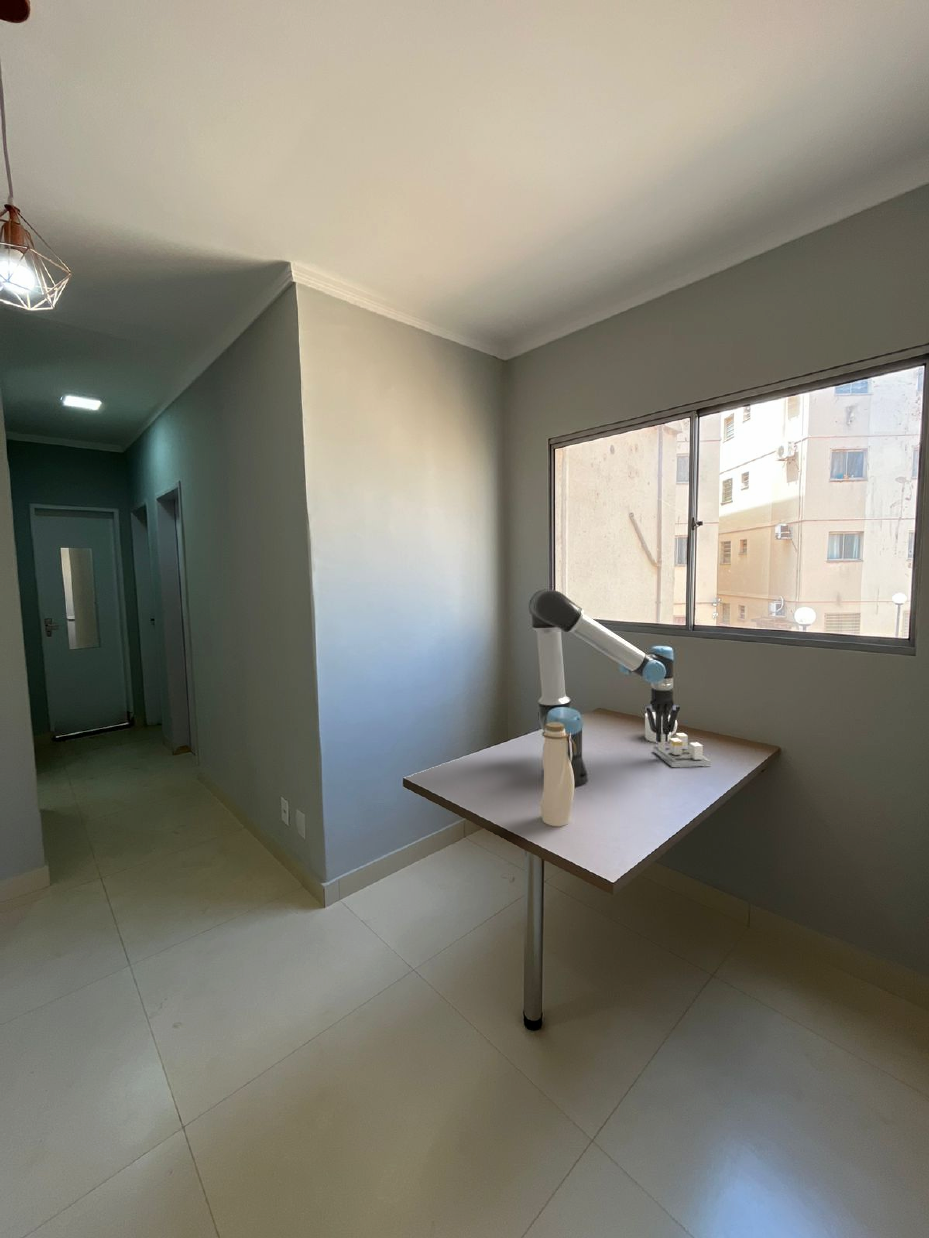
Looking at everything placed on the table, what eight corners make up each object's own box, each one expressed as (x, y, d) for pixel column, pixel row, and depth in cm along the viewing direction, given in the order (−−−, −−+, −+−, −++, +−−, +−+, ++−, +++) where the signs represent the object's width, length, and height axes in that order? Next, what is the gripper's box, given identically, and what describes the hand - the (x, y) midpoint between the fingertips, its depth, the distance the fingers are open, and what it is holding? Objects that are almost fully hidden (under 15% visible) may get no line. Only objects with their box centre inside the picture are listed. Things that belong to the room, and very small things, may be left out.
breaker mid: (674, 754, 184) (674, 741, 184) (669, 751, 188) (669, 738, 188) (682, 754, 185) (682, 741, 184) (677, 750, 188) (677, 737, 188)
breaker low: (694, 759, 179) (694, 746, 179) (689, 755, 183) (689, 742, 182) (702, 759, 179) (702, 745, 179) (697, 755, 183) (697, 742, 183)
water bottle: (572, 811, 148) (571, 719, 145) (580, 826, 139) (579, 728, 136) (537, 812, 148) (536, 720, 145) (543, 827, 139) (542, 729, 136)
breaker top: (679, 748, 190) (679, 736, 190) (675, 745, 194) (675, 733, 193) (687, 748, 190) (687, 735, 190) (682, 745, 194) (683, 732, 193)
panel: (672, 767, 178) (672, 762, 178) (653, 752, 194) (653, 746, 194) (710, 766, 179) (710, 760, 179) (688, 750, 195) (688, 745, 195)
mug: (641, 740, 208) (642, 716, 207) (649, 734, 216) (649, 710, 215) (673, 746, 200) (673, 721, 199) (679, 739, 208) (680, 715, 207)
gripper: (649, 691, 180) (648, 754, 182) (684, 689, 180) (683, 753, 183) (640, 686, 187) (640, 747, 189) (674, 685, 188) (674, 746, 190)
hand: (661, 750), depth 186 cm, fingers closed
